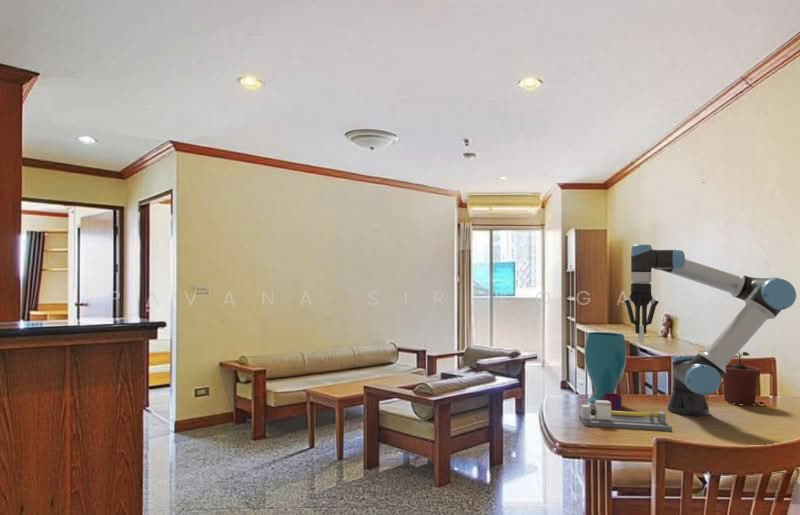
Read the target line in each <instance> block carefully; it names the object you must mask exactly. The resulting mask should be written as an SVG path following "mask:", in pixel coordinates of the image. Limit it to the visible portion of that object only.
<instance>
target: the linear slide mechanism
mask: <svg viewBox="0 0 800 515" xmlns="http://www.w3.org/2000/svg"><path fill="white" fill-rule="evenodd" d="M580 407H581V410H580V411H581V412H580V413H579V414H578V416H579V417H578V418H579V420H580V421H581V423H582V424H583V425H584V426H585V427H594V428H595V427H598V428H611V427H612V428H614V429H627V430H628V429H630V430H632V429H633V430H644V429H645V430H644V431H646V430H647V431H648V430H649V431H661V430H663V431H664V432H672V431H673V427H672V426H671V424H669V423H667V422H666V420H667V419H666V415H667V414H666V413H665V412H663V411H657V412H653V411H651V410H650V411H649V412H641V411H640V412H639V411H623V410H621V411H611V420H601V419H597V417H595V414H597V410H595V407H590V405H589V404H581V406H580ZM663 431H662V432H663Z"/></svg>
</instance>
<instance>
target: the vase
mask: <svg viewBox="0 0 800 515" xmlns="http://www.w3.org/2000/svg"><path fill="white" fill-rule="evenodd" d="M585 337H586V338H585V343H584V344H585V345H584V364H585V369H586V371H587V374H588V377H589V379H590V381H591V384H592V386H593V389H594V394H593V395H592V396H591V397H589V398H588V399H587V401H588V403H589V404H594V405H595V400H600V399H601V398H602V397H604V394H605V393H614V394H616V389H617V388H618V386H619V384H620V382H621V379H622V377H623V376H624V372H625V368H626V363H627V347H626V345H627V344H626V339H625V335H624V334H622V333H614V332H600V331H596V332H595V331H594V332H593V331H592V332H591V331H590V332H587V333H586V336H585ZM603 400H604V399H603ZM621 406H623V403H622V402H621Z"/></svg>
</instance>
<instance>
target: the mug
mask: <svg viewBox="0 0 800 515" xmlns="http://www.w3.org/2000/svg"><path fill="white" fill-rule="evenodd" d="M603 399H604V400H608V401H609V402H611V411H622V405H621V403H622V395H621V394H618V393H615V394H614V393H605V394H604V397H602V398H601V399H600V400H603Z"/></svg>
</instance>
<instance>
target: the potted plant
mask: <svg viewBox="0 0 800 515" xmlns="http://www.w3.org/2000/svg"><path fill="white" fill-rule="evenodd" d="M737 354H738V363H736V364H727V366H726V367H725V369H726V374H725V375H724V376H723V377H722V384H723V396H724V399H723V400H724V402H725V401H727V402H730V403H735V404H743V405H753V404H755V405H756V397H757V396H756V395H757V379H758V377H759V376H761V368H759V367H755V366H749V365H744V364H742V363H741V356H745V357H749V356H750V353H748V352H746V351H743V352H742V354H741V353H740V351H739V352H738V353H737ZM758 403H760V404H765V403H764V402H762V401H759V402H758Z"/></svg>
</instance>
